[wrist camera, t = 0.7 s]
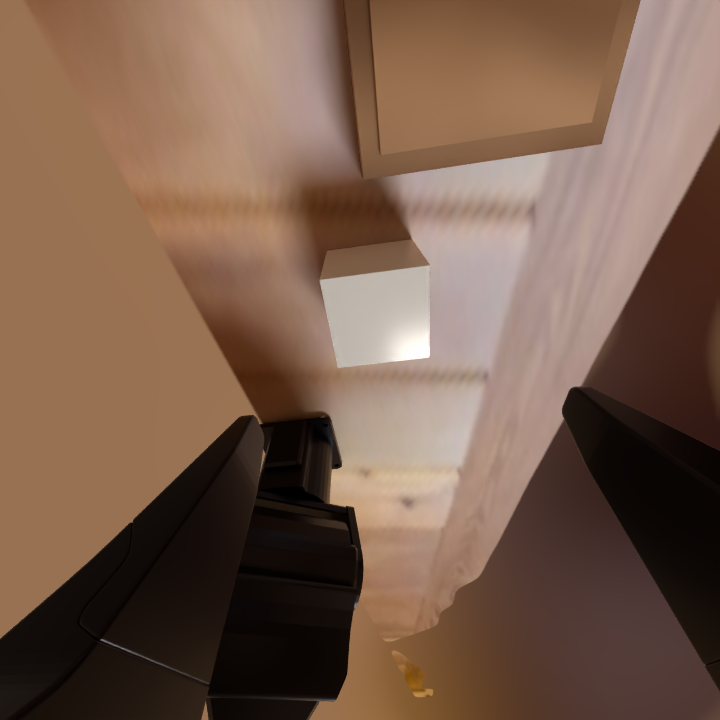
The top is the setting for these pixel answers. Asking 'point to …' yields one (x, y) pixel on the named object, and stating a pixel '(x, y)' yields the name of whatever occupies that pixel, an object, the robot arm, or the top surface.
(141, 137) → the top surface
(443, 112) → the walnut plinth
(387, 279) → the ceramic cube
